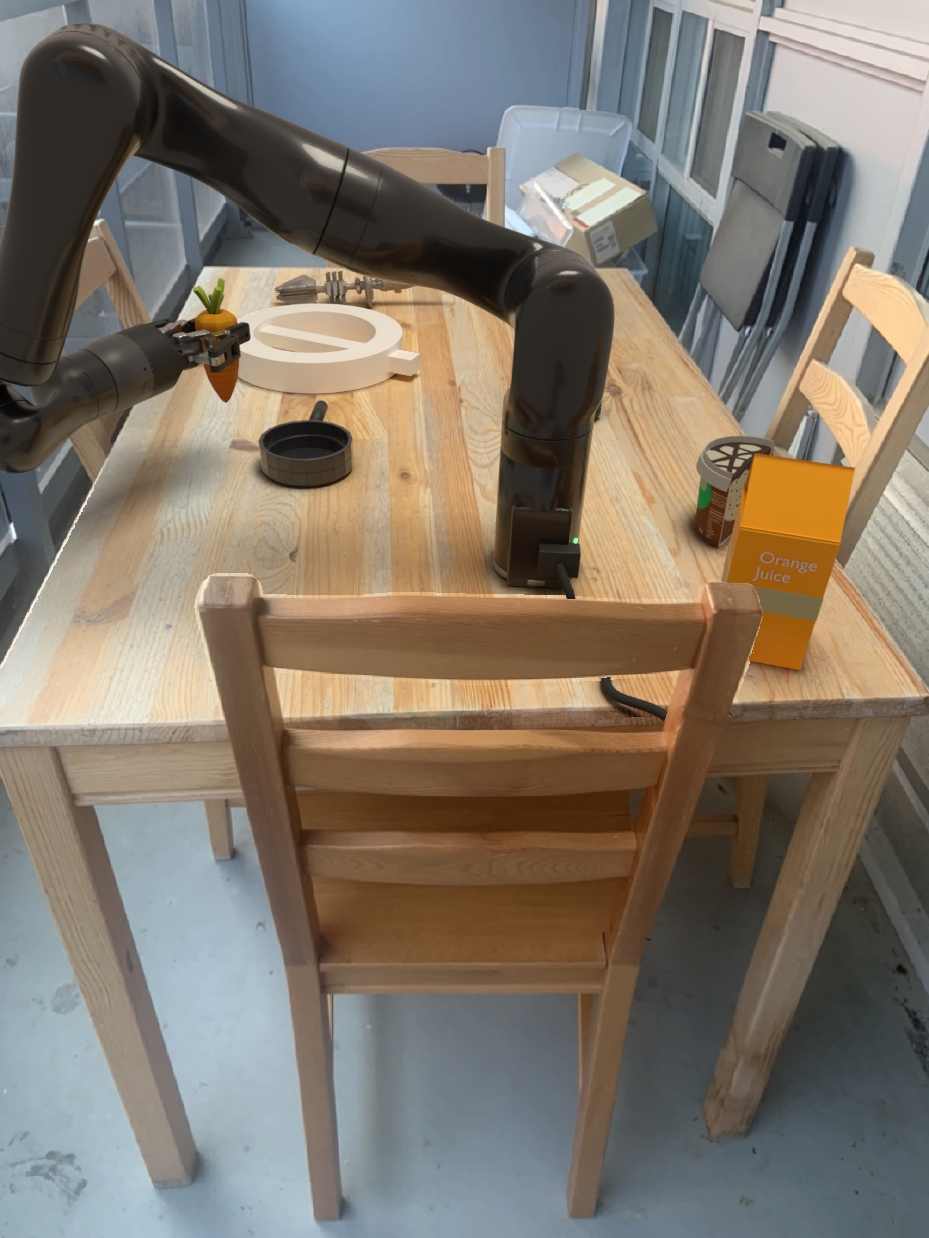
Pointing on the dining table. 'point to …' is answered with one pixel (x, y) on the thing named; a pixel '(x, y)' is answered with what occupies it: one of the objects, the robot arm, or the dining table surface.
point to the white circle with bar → (322, 349)
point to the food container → (724, 483)
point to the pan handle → (319, 411)
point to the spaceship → (332, 289)
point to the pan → (306, 453)
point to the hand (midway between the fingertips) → (229, 326)
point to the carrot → (214, 322)
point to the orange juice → (787, 548)
